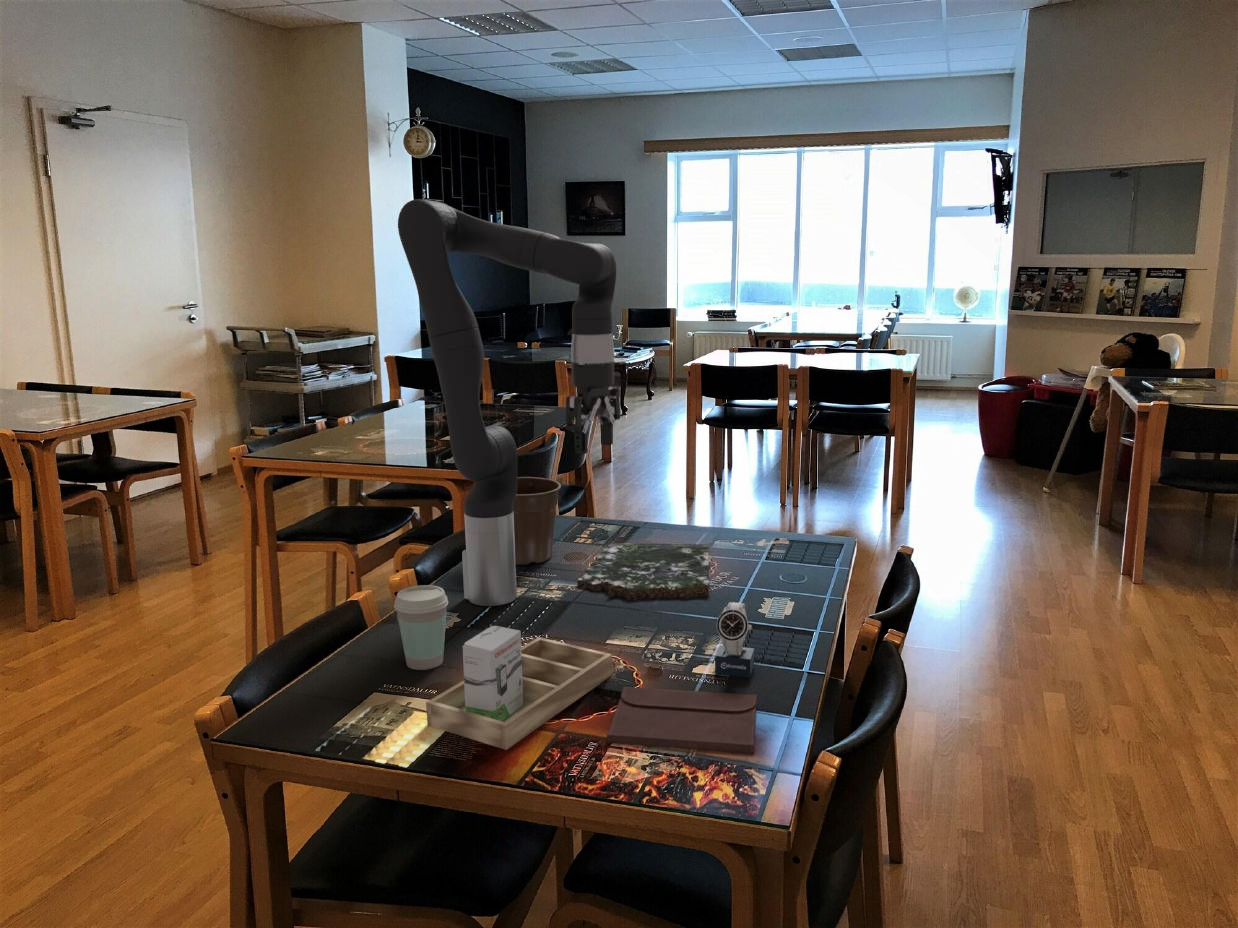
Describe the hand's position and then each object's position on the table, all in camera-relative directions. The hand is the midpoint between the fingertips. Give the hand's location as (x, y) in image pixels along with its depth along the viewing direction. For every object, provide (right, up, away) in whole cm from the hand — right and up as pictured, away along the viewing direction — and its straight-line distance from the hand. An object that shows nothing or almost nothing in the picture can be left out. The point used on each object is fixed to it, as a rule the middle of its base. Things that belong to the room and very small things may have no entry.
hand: (594, 449), depth 176 cm
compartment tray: (-10, -38, -30) cm, 49 cm away
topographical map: (+10, -26, +26) cm, 38 cm away
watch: (+23, -36, -22) cm, 47 cm away
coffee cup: (-27, -35, -17) cm, 48 cm away
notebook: (+14, -40, -38) cm, 57 cm away
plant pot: (-16, -23, +37) cm, 46 cm away
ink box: (-13, -39, -36) cm, 54 cm away
